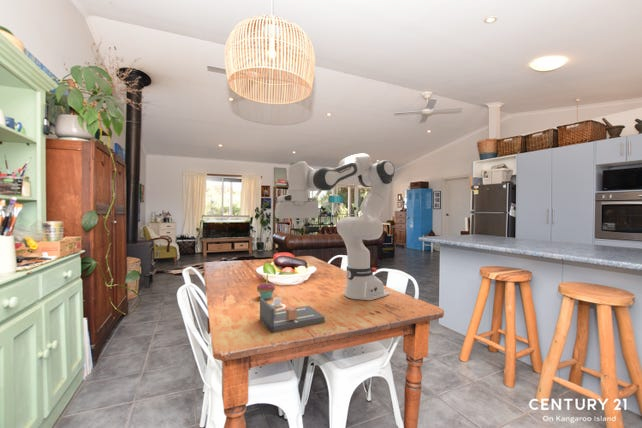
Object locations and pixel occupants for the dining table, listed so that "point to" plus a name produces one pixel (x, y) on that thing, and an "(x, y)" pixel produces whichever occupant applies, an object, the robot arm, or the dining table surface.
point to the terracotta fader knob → (291, 313)
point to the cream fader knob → (273, 307)
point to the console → (280, 321)
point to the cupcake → (266, 289)
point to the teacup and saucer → (278, 302)
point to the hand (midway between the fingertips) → (297, 228)
